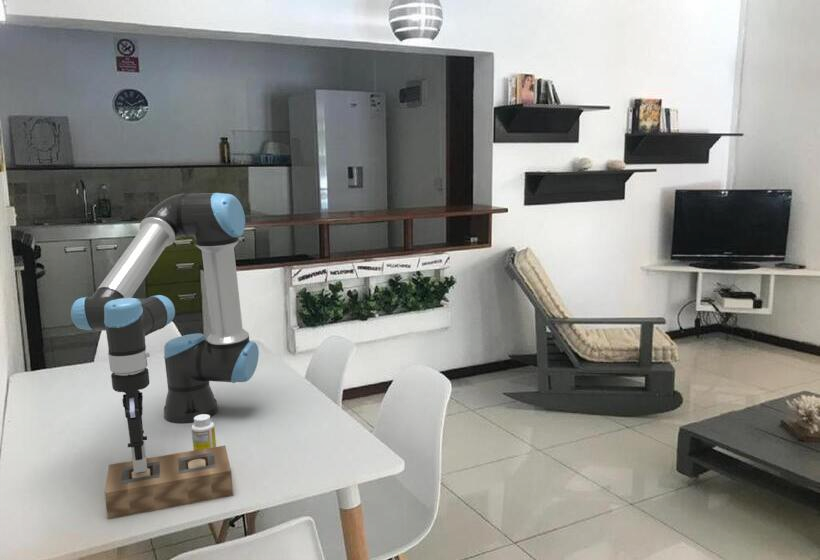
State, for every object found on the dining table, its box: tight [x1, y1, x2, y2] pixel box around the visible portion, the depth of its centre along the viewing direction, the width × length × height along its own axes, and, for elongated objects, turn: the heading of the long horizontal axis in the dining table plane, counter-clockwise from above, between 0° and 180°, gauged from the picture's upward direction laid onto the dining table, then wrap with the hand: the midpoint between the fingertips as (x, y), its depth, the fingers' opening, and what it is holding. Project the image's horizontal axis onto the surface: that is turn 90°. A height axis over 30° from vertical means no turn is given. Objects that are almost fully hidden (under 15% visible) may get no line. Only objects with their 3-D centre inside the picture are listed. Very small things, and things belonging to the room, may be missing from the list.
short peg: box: [188, 459, 206, 469], centre depth 158 cm, size 4×4×6 cm
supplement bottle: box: [191, 414, 217, 451], centre depth 174 cm, size 6×6×10 cm
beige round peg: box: [132, 468, 150, 479], centre depth 154 cm, size 4×4×6 cm
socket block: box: [104, 445, 234, 520], centre depth 156 cm, size 26×14×6 cm, turn 110°
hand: (140, 470), depth 153 cm, fingers closed
